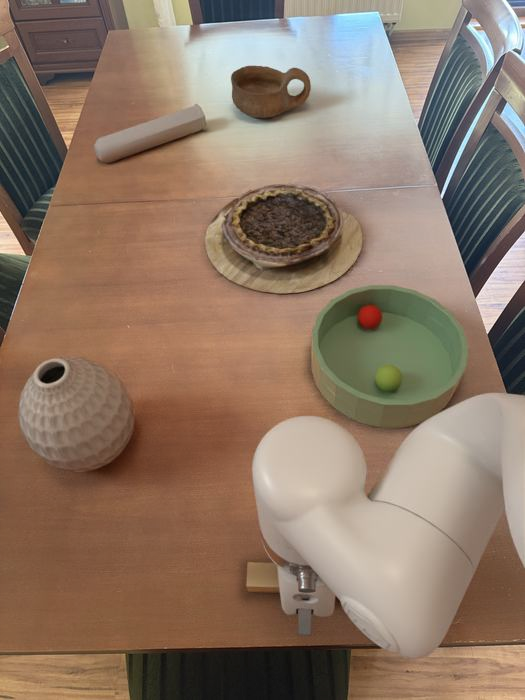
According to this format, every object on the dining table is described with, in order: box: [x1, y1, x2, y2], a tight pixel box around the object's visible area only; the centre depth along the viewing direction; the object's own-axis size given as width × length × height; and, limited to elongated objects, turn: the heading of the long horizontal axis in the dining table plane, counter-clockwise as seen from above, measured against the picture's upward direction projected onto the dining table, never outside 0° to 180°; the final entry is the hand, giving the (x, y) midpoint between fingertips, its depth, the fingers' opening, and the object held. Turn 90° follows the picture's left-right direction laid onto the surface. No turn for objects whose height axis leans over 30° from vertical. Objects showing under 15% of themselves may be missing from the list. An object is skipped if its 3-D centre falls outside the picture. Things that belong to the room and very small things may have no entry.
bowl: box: [230, 65, 312, 119], centre depth 116 cm, size 18×14×10 cm
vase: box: [18, 356, 135, 473], centre depth 61 cm, size 13×13×17 cm
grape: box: [375, 365, 402, 391], centre depth 69 cm, size 4×4×4 cm
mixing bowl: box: [310, 284, 470, 429], centre depth 71 cm, size 21×21×6 cm
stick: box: [245, 561, 280, 594], centre depth 55 cm, size 2×12×2 cm, turn 88°
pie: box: [204, 183, 363, 294], centre depth 90 cm, size 28×27×5 cm
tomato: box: [358, 305, 382, 329], centre depth 76 cm, size 4×4×4 cm
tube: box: [93, 103, 207, 164], centre depth 111 cm, size 5×5×25 cm
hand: (302, 580), depth 56 cm, fingers closed on stick, 2 cm apart
